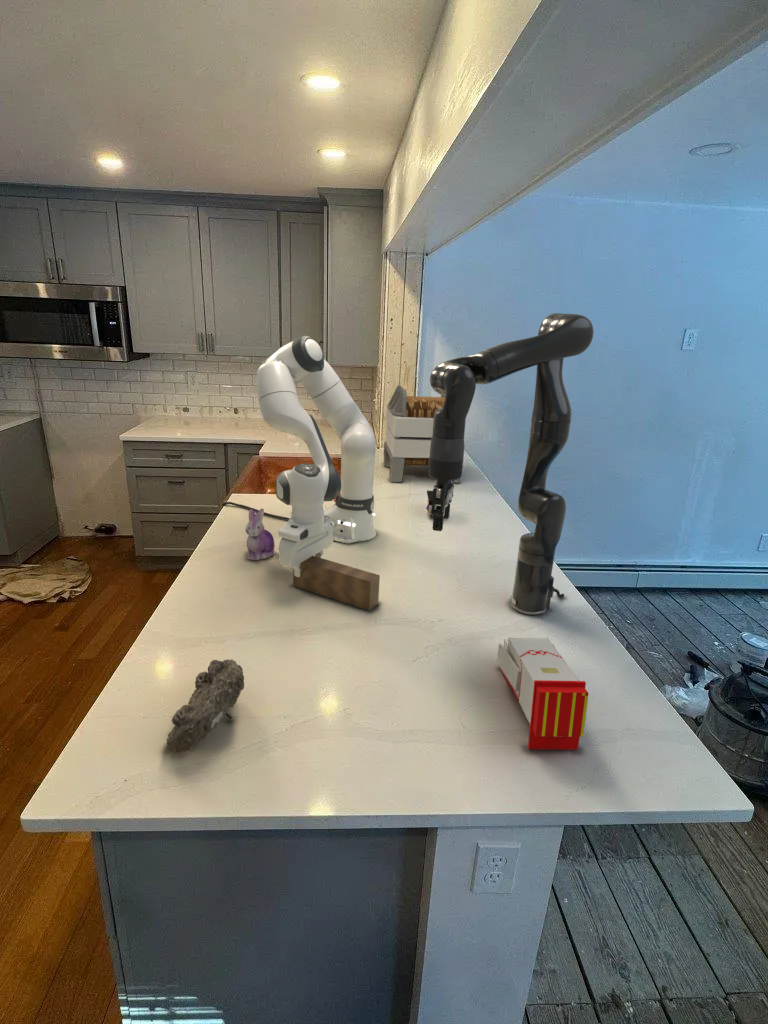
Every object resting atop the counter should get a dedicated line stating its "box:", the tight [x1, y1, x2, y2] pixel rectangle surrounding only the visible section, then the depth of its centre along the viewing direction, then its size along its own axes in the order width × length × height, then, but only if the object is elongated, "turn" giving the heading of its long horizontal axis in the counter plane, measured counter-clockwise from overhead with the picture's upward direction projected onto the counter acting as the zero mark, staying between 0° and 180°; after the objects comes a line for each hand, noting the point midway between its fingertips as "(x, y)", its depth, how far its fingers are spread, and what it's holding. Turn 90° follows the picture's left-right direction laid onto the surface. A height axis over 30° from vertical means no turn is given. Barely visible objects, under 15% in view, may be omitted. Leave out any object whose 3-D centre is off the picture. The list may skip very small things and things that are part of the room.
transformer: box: [383, 384, 461, 484], centre depth 268 cm, size 34×33×41 cm
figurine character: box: [426, 489, 440, 519], centre depth 220 cm, size 7×8×15 cm
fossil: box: [166, 658, 245, 754], centre depth 106 cm, size 22×10×15 cm
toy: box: [496, 637, 589, 751], centre depth 115 cm, size 12×13×30 cm
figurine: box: [245, 508, 275, 561], centre depth 176 cm, size 9×10×15 cm
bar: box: [292, 555, 381, 611], centre depth 155 cm, size 25×5×8 cm, turn 60°
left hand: (307, 570), depth 158 cm, fingers open, 7 cm apart
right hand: (440, 524), depth 131 cm, fingers open, 8 cm apart
